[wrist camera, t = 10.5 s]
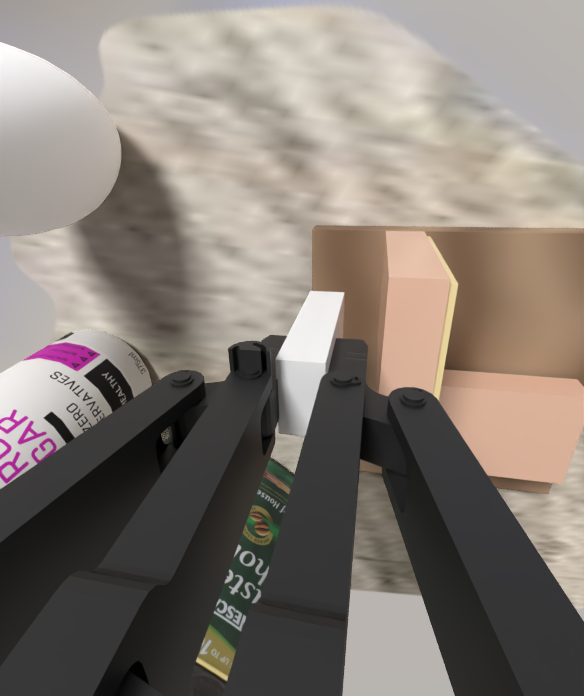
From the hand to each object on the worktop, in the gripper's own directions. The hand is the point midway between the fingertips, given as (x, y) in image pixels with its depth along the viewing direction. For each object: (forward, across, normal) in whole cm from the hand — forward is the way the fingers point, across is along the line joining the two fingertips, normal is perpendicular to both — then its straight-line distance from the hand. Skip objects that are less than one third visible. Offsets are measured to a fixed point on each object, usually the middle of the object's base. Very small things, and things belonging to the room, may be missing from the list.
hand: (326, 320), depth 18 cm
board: (+8, -6, +6) cm, 11 cm away
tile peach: (+6, -3, 0) cm, 7 cm away
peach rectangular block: (+5, -5, +8) cm, 10 cm away
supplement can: (+8, +18, +8) cm, 21 cm away
